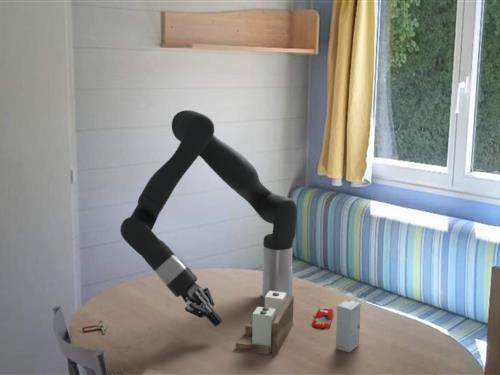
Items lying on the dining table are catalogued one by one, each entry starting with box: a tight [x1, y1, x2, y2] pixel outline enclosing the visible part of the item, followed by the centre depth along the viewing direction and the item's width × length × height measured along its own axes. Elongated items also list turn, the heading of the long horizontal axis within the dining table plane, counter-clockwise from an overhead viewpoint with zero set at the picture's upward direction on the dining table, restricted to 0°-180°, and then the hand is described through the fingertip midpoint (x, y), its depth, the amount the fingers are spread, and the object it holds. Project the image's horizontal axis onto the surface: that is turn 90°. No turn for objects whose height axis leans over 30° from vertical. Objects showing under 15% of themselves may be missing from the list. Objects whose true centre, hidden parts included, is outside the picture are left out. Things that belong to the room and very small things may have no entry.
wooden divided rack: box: [235, 295, 295, 356], centre depth 173 cm, size 15×19×10 cm
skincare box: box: [335, 299, 362, 353], centre depth 170 cm, size 6×4×12 cm
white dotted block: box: [264, 291, 287, 317], centre depth 177 cm, size 5×5×10 cm
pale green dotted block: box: [251, 306, 276, 353], centre depth 166 cm, size 5×5×10 cm
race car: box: [311, 307, 335, 331], centre depth 184 cm, size 13×5×4 cm, turn 163°
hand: (219, 323), depth 170 cm, fingers closed
